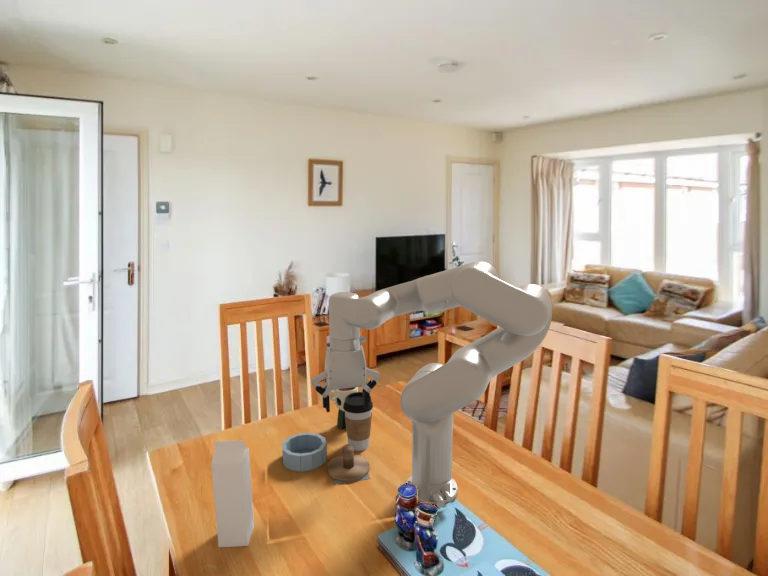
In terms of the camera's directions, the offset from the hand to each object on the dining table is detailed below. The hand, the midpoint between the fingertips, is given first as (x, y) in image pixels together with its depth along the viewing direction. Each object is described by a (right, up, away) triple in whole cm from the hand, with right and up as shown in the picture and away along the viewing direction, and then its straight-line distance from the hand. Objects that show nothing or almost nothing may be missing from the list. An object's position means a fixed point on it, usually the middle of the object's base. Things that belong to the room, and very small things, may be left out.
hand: (346, 407), depth 117 cm
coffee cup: (+2, -15, +15) cm, 22 cm away
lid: (0, -17, +3) cm, 17 cm away
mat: (0, -17, +3) cm, 18 cm away
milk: (-22, -22, -19) cm, 37 cm away
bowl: (-12, -17, +8) cm, 22 cm away
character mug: (-2, -13, +27) cm, 30 cm away
